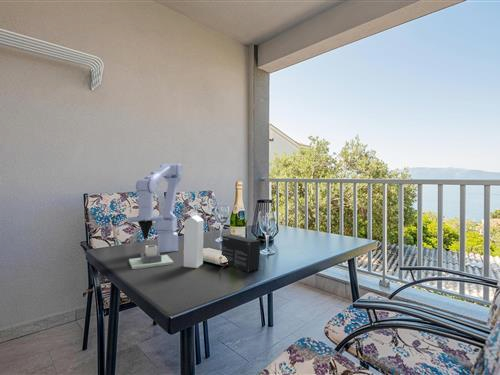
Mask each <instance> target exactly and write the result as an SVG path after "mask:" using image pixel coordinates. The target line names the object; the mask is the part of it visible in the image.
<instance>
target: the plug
mask: <svg viewBox="0 0 500 375" xmlns="http://www.w3.org/2000/svg"><path fill="white" fill-rule="evenodd" d="M144 248H145V251H144V253H145V257H149V256H157V252H158V251H157V248H158V245H156V244H153V245H152V244H149V245H145V246H144Z"/></svg>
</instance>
